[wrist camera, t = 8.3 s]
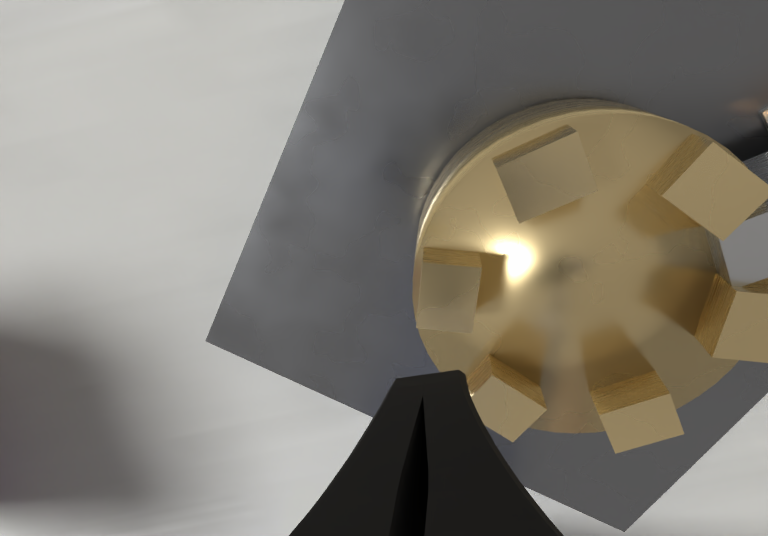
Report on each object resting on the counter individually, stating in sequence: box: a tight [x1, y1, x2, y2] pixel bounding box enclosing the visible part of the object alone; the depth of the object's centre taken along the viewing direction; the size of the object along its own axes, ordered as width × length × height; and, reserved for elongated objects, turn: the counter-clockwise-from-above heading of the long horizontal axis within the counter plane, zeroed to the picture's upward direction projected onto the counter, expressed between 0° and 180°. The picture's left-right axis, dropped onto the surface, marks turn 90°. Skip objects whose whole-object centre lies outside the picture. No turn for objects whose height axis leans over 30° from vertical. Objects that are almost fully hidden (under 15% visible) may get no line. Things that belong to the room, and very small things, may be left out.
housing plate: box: [206, 0, 768, 532], centre depth 17 cm, size 18×18×2 cm
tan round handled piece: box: [412, 99, 768, 454], centre depth 13 cm, size 16×9×4 cm, turn 116°
